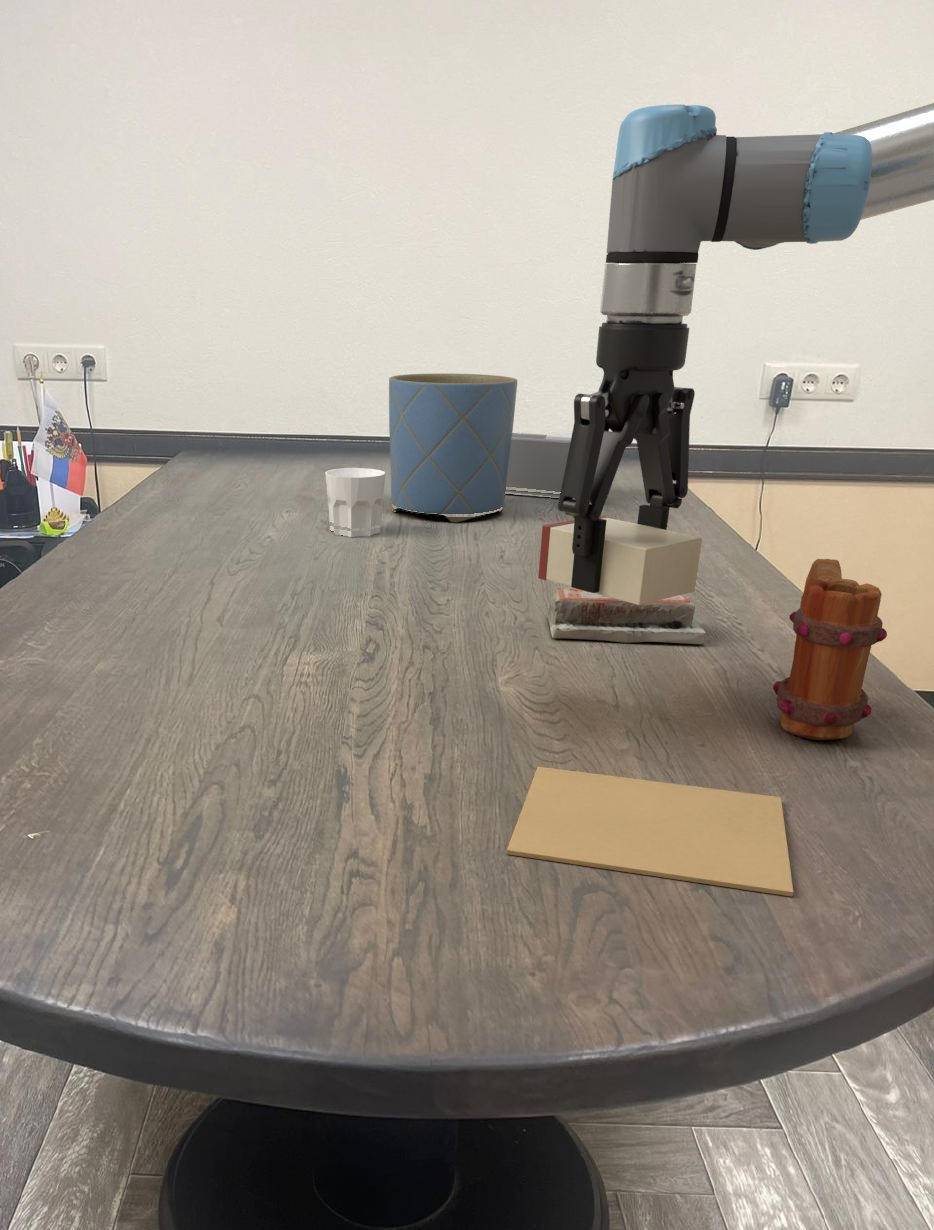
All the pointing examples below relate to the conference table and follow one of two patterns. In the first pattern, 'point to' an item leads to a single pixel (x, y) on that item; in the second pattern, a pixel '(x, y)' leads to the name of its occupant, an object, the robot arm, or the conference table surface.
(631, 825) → the cork mat
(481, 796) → the conference table surface
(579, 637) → the grey boxy piece
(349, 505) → the cup
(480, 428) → the planter
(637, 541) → the red-capped cream block
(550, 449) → the grey rounded block
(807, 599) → the mug
